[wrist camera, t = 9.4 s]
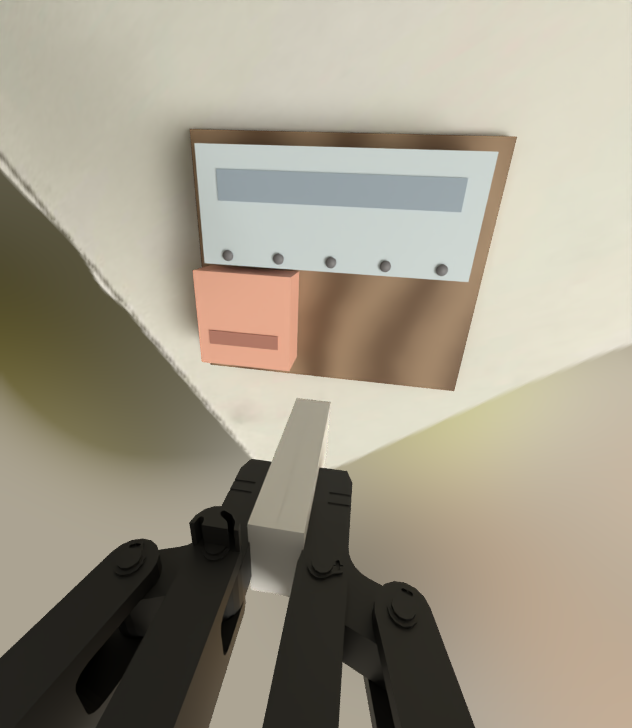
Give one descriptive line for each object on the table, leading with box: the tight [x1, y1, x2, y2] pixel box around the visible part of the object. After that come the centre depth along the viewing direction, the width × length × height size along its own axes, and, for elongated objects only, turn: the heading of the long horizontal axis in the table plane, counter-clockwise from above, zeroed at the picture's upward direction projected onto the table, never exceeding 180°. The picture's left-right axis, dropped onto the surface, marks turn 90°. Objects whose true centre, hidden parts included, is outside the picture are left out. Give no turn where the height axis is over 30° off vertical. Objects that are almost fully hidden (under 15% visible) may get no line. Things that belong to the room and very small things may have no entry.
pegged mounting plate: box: [194, 143, 499, 282], centre depth 25 cm, size 20×8×4 cm, turn 87°
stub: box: [193, 265, 299, 371], centre depth 29 cm, size 8×8×4 cm
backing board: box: [190, 129, 517, 391], centre depth 29 cm, size 24×20×1 cm
